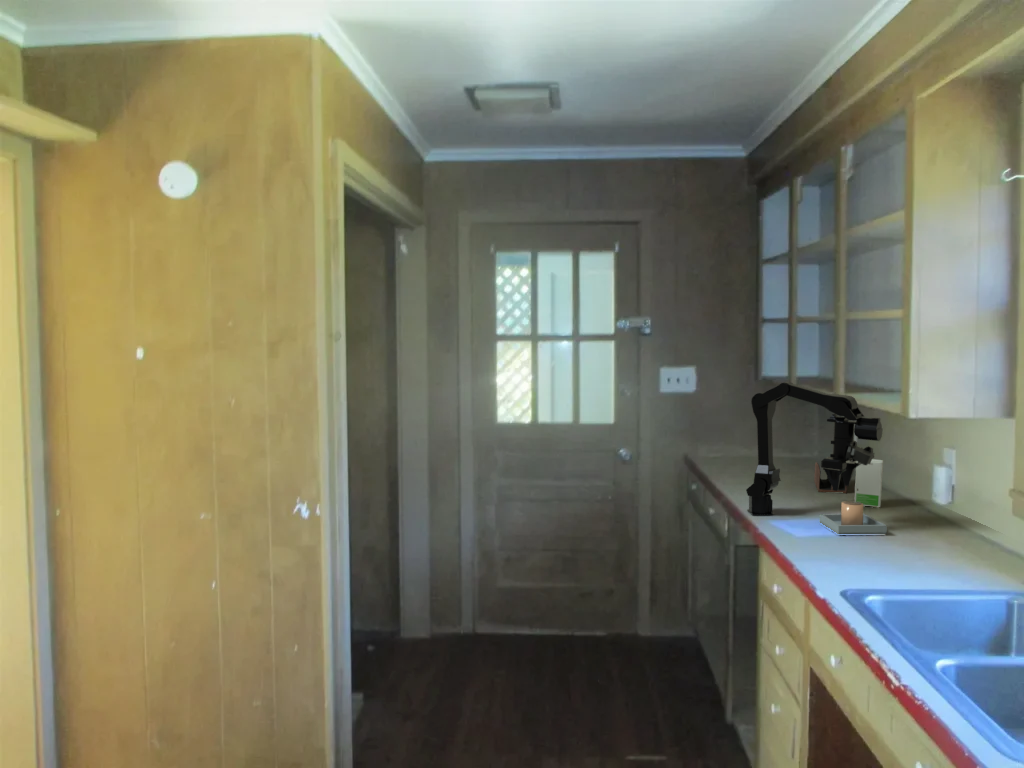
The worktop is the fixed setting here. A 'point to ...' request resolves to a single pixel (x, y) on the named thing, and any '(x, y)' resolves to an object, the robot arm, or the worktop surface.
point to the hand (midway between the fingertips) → (841, 488)
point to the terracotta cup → (851, 513)
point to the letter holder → (827, 482)
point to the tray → (867, 528)
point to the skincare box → (869, 483)
